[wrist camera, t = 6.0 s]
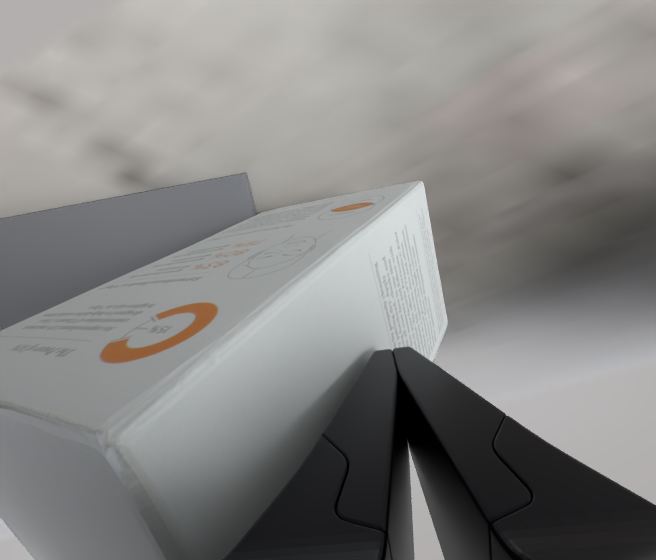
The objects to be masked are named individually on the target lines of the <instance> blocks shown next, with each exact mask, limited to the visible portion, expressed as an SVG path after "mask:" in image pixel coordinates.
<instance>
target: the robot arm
mask: <svg viewBox="0 0 656 560" xmlns="http://www.w3.org/2000/svg"><path fill="white" fill-rule="evenodd" d="M407 440H408V441H407ZM408 445H409V449H410V452H411V456H412V459H413V462H414V465H415V468H416V471H417V474H418V477H419V480H420V484H421V487H422V490H423V493H424V496H425V499H426V502H427V506H428V509H429V512H430V515H431V518H432V521H433V524H434V527H435V531H436V534H437V537H438V540H439V542H440V546H441V549H442V552H443V555H444V559H445V560H656V505H654V504H652V503H651V502H649V501H647V500H646V499H644V498H642V497H640V496H639V495H637V494H635V493H633V492H631V491H630V490H628V489H626V488H624V487H623V486H621V485H619V484H618V483H616V482H614V481H612V480H611V479H609V478H607V477H605V476H604V475H602V474H600V473H599V472H597V471H595V470H593V469H592V468H590V467H588V466H586V465H585V464H583V463H581V462H579V461H578V460H576V459H574V458H573V457H571V456H569V455H568V454H566V453H564V452H563V451H561V450H559V449H558V448H556V447H554V446H553V445H551V444H549V443H548V442H546V441H545V440H543V439H542V438H540V437H539V436H537V435H536V434H534V433H532V432H531V431H530V430H528V429H526V428H525V427H524V426H522V425H521V424H519V423H518V422H517V421H515V420H514V419H512V418H511V417H509V416H506V414H505V413H503V412H502V411H501V410H499V409H498V408H496V407H495V406H494V405H492V404H491V403H489V402H488V401H487V400H485V399H484V398H482V397H481V396H479V395H478V394H477V393H475V392H474V391H472V390H471V389H470V388H468V387H467V386H465V385H464V384H462V383H461V382H460V381H458V380H457V379H455V378H454V377H453V376H451V375H450V374H448V373H447V372H445V371H444V370H443V369H441V368H440V367H438V366H437V365H436V364H434V363H433V362H431V361H430V360H429V359H427V358H426V357H424V356H423V355H421V354H420V353H419V352H417V351H416V350H414V349H413V348H412V347H409V346H407V347H400V348H394V349H393V351H392V350H391V349H385V350H377V351H375V352H374V353H373V354H372V356H371V357H370V359H369V361H368V362H367V364H366V365H365V367H364V368H363V370H362V372H361V373H360V375H359V376H358V378H357V379H356V381H355V383H354V384H353V386H352V387H351V389H350V390H349V392H348V394H347V395H346V397H345V398H344V400H343V401H342V403H341V405H340V406H339V408H338V409H337V411H336V413H335V414H334V416H333V417H332V419H331V420H330V422H329V424H328V425H327V427H326V428H325V430H324V431H323V433H322V435H321V437H319V439H318V441H317V442H316V444H315V445H314V447H313V448H312V450H311V451H310V453H309V454H308V456H307V457H306V459H305V460H304V462H303V463H302V464H301V466H300V467H299V469H298V470H297V471H296V473H295V474H294V475H293V476H292V478H291V479H290V480H289V481H288V483H287V484H286V485H285V487H284V488H283V489H282V490H281V492H280V493H279V494H278V495H277V496H276V498H275V499H274V500H273V501H272V502H271V504H270V505H269V506H268V507H267V508H266V510H265V511H264V512H263V513H262V515H261V516H260V517H259V518H258V519H257V521H256V522H255V523H254V524H253V525H252V527H251V528H250V529H249V530H248V531H247V533H246V534H245V535H244V536H243V538H242V539H241V540H240V541H239V542H238V544H237V545H236V546H235V547H234V548H233V549H232V550H231V551H230V552H229V554H228V555H226V556H225V557H224V558H223V559H222V560H414V543H413V523H412V504H411V485H410V465H409V450H408Z"/></svg>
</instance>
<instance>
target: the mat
mask: <svg viewBox="0 0 656 560" xmlns="http://www.w3.org/2000/svg"><path fill="white" fill-rule="evenodd" d="M255 215H257V214H256V209H255V205H254V201H253V197H252V193H251V189H250V185H249V181H248V177H247V173H242V174H237V175H231V176H226V177H221V178H215V179H210V180H205V181H199V182H194V183H189V184H183V185H178V186H173V187H167V188H162V189H157V190H151V191H146V192H141V193H135V194H130V195H125V196H119V197H114V198H109V199H103V200H98V201H93V202H87V203H82V204H77V205H71V206H66V207H61V208H55V209H50V210H45V211H39V212H34V213H29V214H23V215H18V216H13V217H7V218H2V219H0V326H1V328H2V330H3V329H6V328H8V327H10V326H12V325H14V324H17V323H19V322H21V321H23V320H26V319H28V318H30V317H32V316H34V315H37V314H39V313H41V312H43V311H46V310H48V309H50V308H52V307H55V306H57V305H59V304H61V303H63V302H65V301H68V300H70V299H72V298H74V297H76V296H78V295H81V294H83V293H85V292H87V291H89V290H92V289H94V288H96V287H98V286H101V285H103V284H105V283H107V282H110V281H112V280H114V279H116V278H119V277H121V276H123V275H125V274H127V273H130V272H132V271H134V270H137V269H139V268H141V267H144V266H146V265H148V264H151V263H153V262H155V261H157V260H160V259H162V258H164V257H166V256H169V255H171V254H173V253H175V252H178V251H180V250H182V249H184V248H187V247H189V246H191V245H193V244H195V243H198V242H200V241H202V240H204V239H206V238H208V237H210V236H213V235H215V234H217V233H219V232H221V231H223V230H225V229H227V228H229V227H231V226H234V225H236V224H238V223H240V222H242V221H244V220H246V219H249V218H251V217H253V216H255Z"/></svg>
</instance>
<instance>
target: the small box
mask: <svg viewBox="0 0 656 560" xmlns="http://www.w3.org/2000/svg"><path fill="white" fill-rule="evenodd" d="M447 320H448V319H447V315H446V309H445V304H444V298H443V293H442V287H441V281H440V276H439V270H438V264H437V258H436V253H435V247H434V241H433V235H432V229H431V223H430V218H429V212H428V206H427V200H426V194H425V188H424V184H423V182H422V181H414V182H409V183H403V184H397V185H392V186H387V187H381V188H376V189H371V190H366V191H361V192H356V193H350V194H345V195H340V196H336V197H331V198H326V199H321V200H316V201H311V202H306V203H301V204H296V205H291V206H286V207H282V208H277V209H273V210H269V211H264V212H261V213H259V214H257V215H255V216H253V217H251V218H249V219H246V220H244V221H242V222H240V223H238V224H236V225H234V226H231V227H229V228H227V229H225V230H223V231H221V232H219V233H217V234H215V235H213V236H210V237H208V238H206V239H204V240H202V241H200V242H198V243H195V244H193V245H191V246H189V247H187V248H184V249H182V250H180V251H178V252H175V253H173V254H171V255H169V256H166V257H164V258H162V259H160V260H157V261H155V262H153V263H151V264H148V265H146V266H144V267H141V268H139V269H137V270H134V271H132V272H130V273H127V274H125V275H123V276H121V277H119V278H116V279H114V280H112V281H110V282H107V283H105V284H103V285H101V286H98V287H96V288H94V289H92V290H89V291H87V292H85V293H83V294H81V295H78V296H76V297H74V298H72V299H70V300H68V301H65V302H63V303H61V304H59V305H57V306H55V307H52V308H50V309H48V310H46V311H43V312H41V313H39V314H37V315H34V316H32V317H30V318H28V319H26V320H23V321H21V322H19V323H17V324H14V325H12V326H10V327H8V328H6V329H3V330H1V331H0V517H1V519H2V520H3V521H4V522H5V524H6V525H7V526H8V527H9V529H10V530H11V531H12V532H13V534H14V535H15V536H16V537H17V539H18V540H19V541H20V542H21V543H22V545H23V546H24V547H25V548H26V549H27V551H28V552H29V553H30V554H31V555H32V557H33V558H34V559H35V560H222V559H223V558H224V557H225V556H226V555H228V554H229V552H230V551H231V550H232V549H233V548H234V547H235V546H236V545H237V544H238V542H239V541H240V540H241V539H242V538H243V536H244V535H245V534H246V533H247V531H248V530H249V529H250V528H251V527H252V525H253V524H254V523H255V522H256V521H257V519H258V518H259V517H260V516H261V515H262V513H263V512H264V511H265V510H266V508H267V507H268V506H269V505H270V504H271V502H272V501H273V500H274V499H275V498H276V496H277V495H278V494H279V493H280V492H281V490H282V489H283V488H284V487H285V485H286V484H287V483H288V481H289V480H290V479H291V478H292V476H293V475H294V474H295V473H296V471H297V470H298V469H299V467H300V466H301V464H302V463H303V462H304V460H305V459H306V457H307V456H308V454H309V453H310V451H311V450H312V448H313V447H314V445H315V444H316V442H317V441H318V439H319V437H321V435H322V433H323V431H324V430H325V428H326V427H327V425H328V424H329V422H330V420H331V419H332V417H333V416H334V414H335V413H336V411H337V409H338V408H339V406H340V405H341V403H342V401H343V400H344V398H345V397H346V395H347V394H348V392H349V390H350V389H351V387H352V386H353V384H354V383H355V381H356V379H357V378H358V376H359V375H360V373H361V372H362V370H363V368H364V367H365V365H366V364H367V362H368V361H369V359H370V357H371V356H372V354H373V353H374V352H375V351H377V350H385V349H391V350H392V351H393V349H394V348H400V347H407V346H409V347H412V348H413V349H414V350H416V351H417V352H419V353H420V354H421V355H423V356H424V357H426V358H427V359H429V360H430V361H431V362H433V361H434V359H435V356H436V354H437V351H438V348H439V346H440V343H441V341H442V339H443V336H444V334H445V331H446V329H447V326H448V321H447Z"/></svg>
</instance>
